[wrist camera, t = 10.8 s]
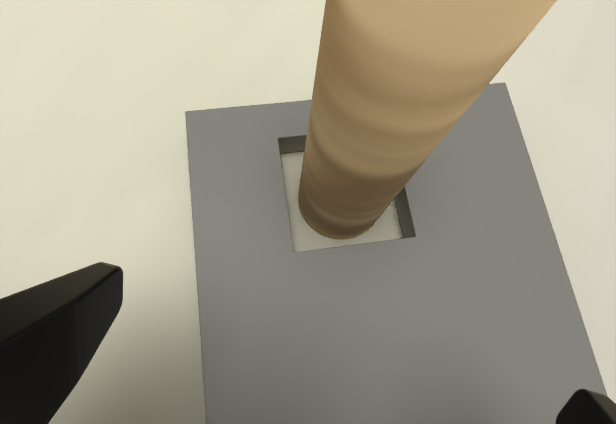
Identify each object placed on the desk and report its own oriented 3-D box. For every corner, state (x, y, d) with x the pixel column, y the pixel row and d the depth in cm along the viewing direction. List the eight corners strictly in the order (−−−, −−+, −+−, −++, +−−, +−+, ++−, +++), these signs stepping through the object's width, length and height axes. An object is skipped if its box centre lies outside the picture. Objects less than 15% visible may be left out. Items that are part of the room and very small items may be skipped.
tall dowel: (388, 233, 18) (737, -104, 4) (304, 244, 17) (398, -90, 4) (372, 156, 19) (612, -311, 5) (292, 164, 18) (335, -316, 5)
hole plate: (605, 477, 15) (638, 491, 14) (223, 556, 14) (217, 581, 12) (488, 101, 20) (505, 82, 18) (192, 129, 18) (185, 111, 17)
